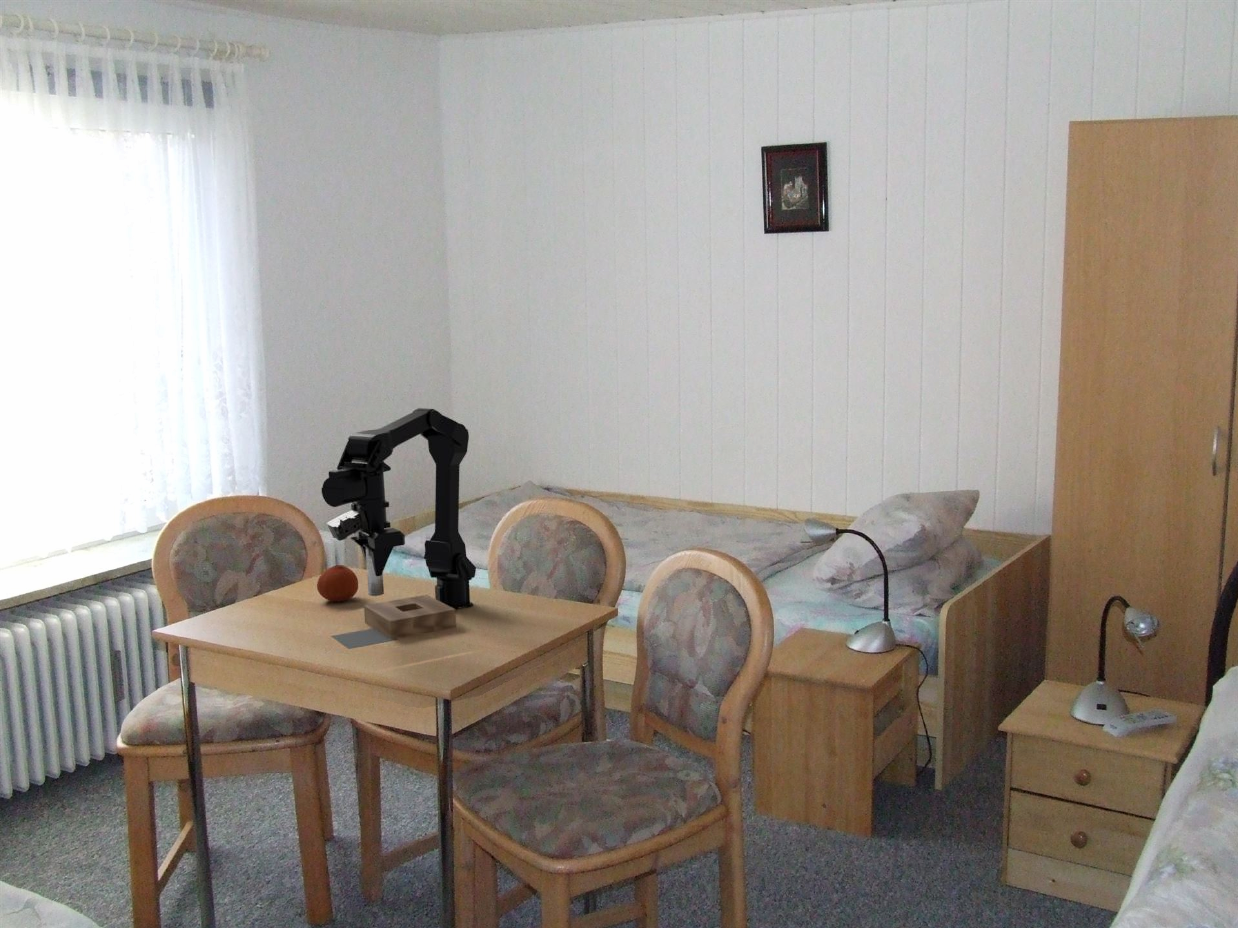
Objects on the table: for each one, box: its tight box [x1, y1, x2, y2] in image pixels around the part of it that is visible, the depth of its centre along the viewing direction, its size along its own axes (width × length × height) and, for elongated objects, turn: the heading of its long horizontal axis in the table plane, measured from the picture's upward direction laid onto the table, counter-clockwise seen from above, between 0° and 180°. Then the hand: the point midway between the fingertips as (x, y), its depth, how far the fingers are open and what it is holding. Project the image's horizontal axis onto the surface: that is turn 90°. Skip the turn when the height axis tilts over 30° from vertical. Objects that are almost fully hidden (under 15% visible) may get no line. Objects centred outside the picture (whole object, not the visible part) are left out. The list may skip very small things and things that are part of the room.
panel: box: [331, 627, 399, 650], centre depth 246 cm, size 10×10×1 cm
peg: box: [365, 548, 385, 597], centre depth 247 cm, size 3×3×10 cm
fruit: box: [316, 564, 359, 603], centre depth 275 cm, size 9×9×8 cm
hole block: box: [363, 594, 457, 639], centre depth 254 cm, size 14×14×4 cm
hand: (375, 574), depth 247 cm, fingers closed on peg, 3 cm apart
